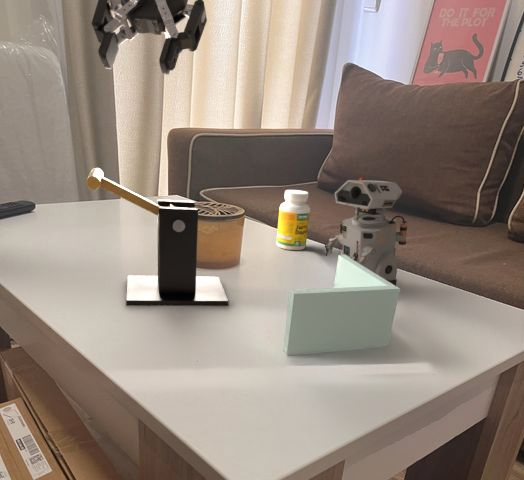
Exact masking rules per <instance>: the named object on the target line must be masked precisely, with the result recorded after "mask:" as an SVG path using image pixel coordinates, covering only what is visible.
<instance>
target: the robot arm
mask: <svg viewBox="0 0 524 480" xmlns="http://www.w3.org/2000/svg"><path fill="white" fill-rule="evenodd" d="M188 2H189V0H97V3H96V8H95V10H94V13H93V16H92V20H91V27H92V29H93V31H94V34H95V36H96V39H97V41H98V43H99V44H100V45H99V47H98V50H97V53H98V56H99V59H100V61H101V63H102V65H103V66H104V68H105V69H108V70H112V69H113V67H114V65H115V61H116V60H117V59H116V58H117V56H118V52H119V51H120V50H119V49H120V48H119V47H120V46H121V45H122V44H123V43H125V42H126V41H127V40H128V41H132V40H133V39H134V38H135V37H137V35H139V34H142V35H143V34H152V35H155V36H162V34H164V35H165V39H164V43H163V46H162V49H161V52H160V55H159V61H158V63H159V68H160V70H161V74H162V75H168V76H169V74H170V72H171V71H174V69H176V66H177V63H178V59H179V56H180V54H182V52H183V50H187V51H189V52H190V53H191V52H195V51H197V50H198V47H199V44H200V42H201V38H202V36H203V33H204V30H205V27H206V24H207V22H208V19H207V11H206V6H205V1H204V0H195V1H194V3H193V4H189V3H188ZM186 18H187V22H186V24H185V27H184V30H183V31H181V32H179V30H178V27H177V25H178V24H179V23H181V22H183V20H185V19H186ZM129 24H130V25H129ZM116 31H119V32H117V33H116Z"/></svg>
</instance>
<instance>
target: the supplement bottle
mask: <svg viewBox="0 0 524 480" xmlns="http://www.w3.org/2000/svg"><path fill="white" fill-rule="evenodd" d="M284 200H285V201H284V202H282V203H280V206H279V210H278V222H277V233H276V246H277V247H279V248H280V249H283V250H288V251H301V250H304V249H305V248H306V247H307V240H308V232H309V224H310V215H311V207H310V206H309V205H308V204H307V202H308V200H309V192H308V191H305V190H300V189H286V190H285V191H284Z"/></svg>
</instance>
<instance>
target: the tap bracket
mask: <svg viewBox="0 0 524 480" xmlns="http://www.w3.org/2000/svg"><path fill="white" fill-rule="evenodd" d="M157 204H158V205H160V206H162V207H159V216H157V275H136V274H135V275H132V274H131V275H129V274H128V275H127V277H126V278H127V279H126V297H125V305H126V306H128V307H129V306H140V307H141V306H142V307H143V306H146V307H147V306H149V307H151V306H157V307H158V306H164V307H165V306H168V307H169V306H171V307H176V306H177V307H179V306H182V307H186V306H187V307H188V306H189V307H192V306H193V307H194V306H195V307H199V306H200V307H205V306H206V307H221V306H222V307H228V306H229V303H230V301H229V298H228V296H227V294H226V291H225V289H224V286H223V284H222V282H221V279H220V277H219V276H202V275H201V276H200V275H199V276H198V275H197V262H198V261H197V259H198V258H197V257H198V233H199V232H198V229H199V209H198V208H197V207H196V202H195V201H194V200H179V199H157ZM170 204H172V205H174V206H176V207H169V205H170Z"/></svg>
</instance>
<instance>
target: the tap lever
mask: <svg viewBox="0 0 524 480" xmlns="http://www.w3.org/2000/svg"><path fill="white" fill-rule="evenodd" d="M85 183H86V184H85V185H86V186H87V188H88V189H89V190H92V191H97V190H98V189H100V188H101V189H103V190H105V191H108V192H109V193H112V194H114V195H115V196H117V197H120V198H121V199H124V200H125V201H127V202H129V203H131V204H133V205H136V206H137V207H140V208H142V209H143V210H145V211H148V212H150V213H151V214H154V215H156V216H157V217H158V216H159V207H162V206H160V205H158V203H155V201H154V202H153V200H150V199H148V198H146V197H144V196H142V195H140V194H138V193H136V192H134V191H132V190H130V189H128V188H126V187H124V186H123V185H120V184H118V183H116V182H115V181H113V180H111V179H108V178H106V177H104V171H103V170H102V169H101V168H99V167H93V168H92V169H91V171H90V173H89V174H88V176H87V179H86V181H85ZM169 207H176V206H174V205H172V204H170V205H169Z"/></svg>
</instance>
